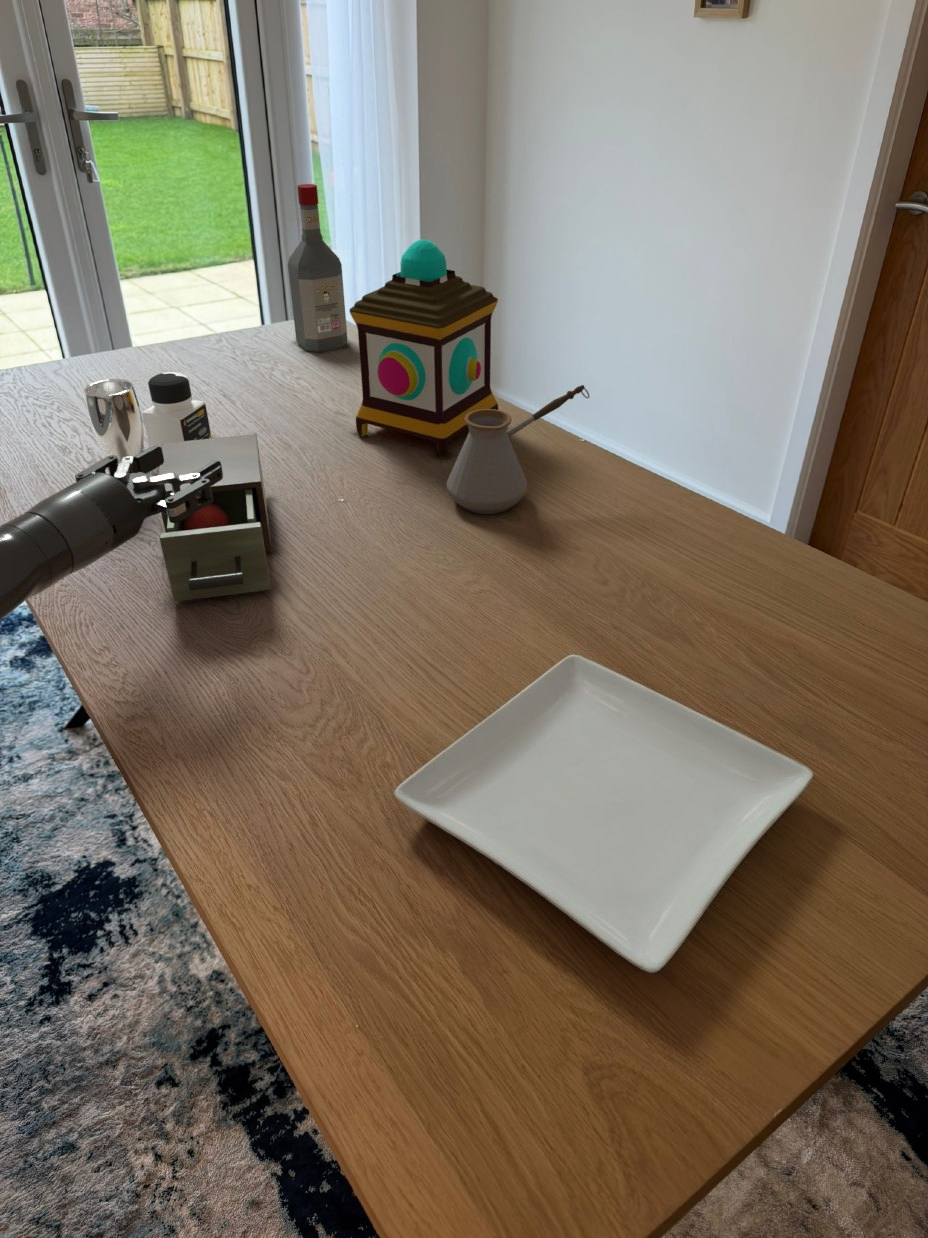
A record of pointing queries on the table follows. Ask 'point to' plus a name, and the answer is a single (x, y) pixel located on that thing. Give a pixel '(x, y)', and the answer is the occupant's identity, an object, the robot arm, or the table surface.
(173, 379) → the medicine bottle
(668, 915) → the square plate
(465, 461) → the coffee pot
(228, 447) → the cabinet
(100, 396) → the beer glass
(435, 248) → the decorative lantern
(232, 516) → the drawer
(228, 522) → the onion
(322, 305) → the liquor
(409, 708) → the table surface
